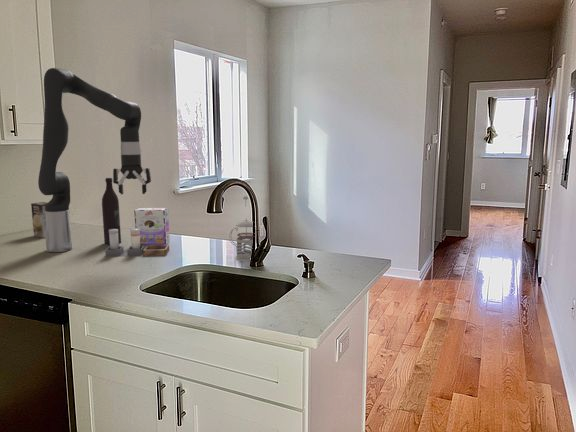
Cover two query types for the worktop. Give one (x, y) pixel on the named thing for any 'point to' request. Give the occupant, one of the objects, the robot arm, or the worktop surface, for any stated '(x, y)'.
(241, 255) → the french press
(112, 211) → the wine bottle
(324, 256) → the worktop surface
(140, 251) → the fuse holder
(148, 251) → the walnut tray
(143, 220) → the candy box
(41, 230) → the coffee box
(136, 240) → the marked fuse
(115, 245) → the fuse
